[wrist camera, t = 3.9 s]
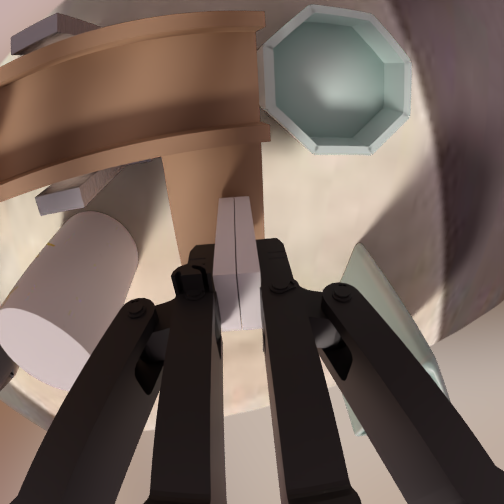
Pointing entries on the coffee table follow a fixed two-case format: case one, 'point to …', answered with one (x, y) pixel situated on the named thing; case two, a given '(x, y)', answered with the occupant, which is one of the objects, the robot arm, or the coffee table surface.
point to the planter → (388, 316)
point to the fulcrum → (81, 187)
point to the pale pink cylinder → (68, 298)
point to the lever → (143, 113)
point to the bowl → (335, 81)
